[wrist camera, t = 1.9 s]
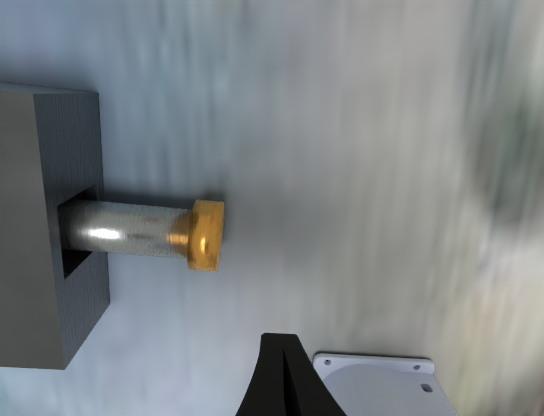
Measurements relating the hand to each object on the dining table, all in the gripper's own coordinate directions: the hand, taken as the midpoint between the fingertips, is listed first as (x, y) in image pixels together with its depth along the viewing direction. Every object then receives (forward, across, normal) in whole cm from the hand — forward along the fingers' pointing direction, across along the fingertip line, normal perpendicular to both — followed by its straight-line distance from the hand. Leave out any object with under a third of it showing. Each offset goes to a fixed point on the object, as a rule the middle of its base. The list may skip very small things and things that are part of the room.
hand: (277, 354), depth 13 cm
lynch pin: (+9, +9, -2) cm, 13 cm away
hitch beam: (+10, +14, -2) cm, 17 cm away
